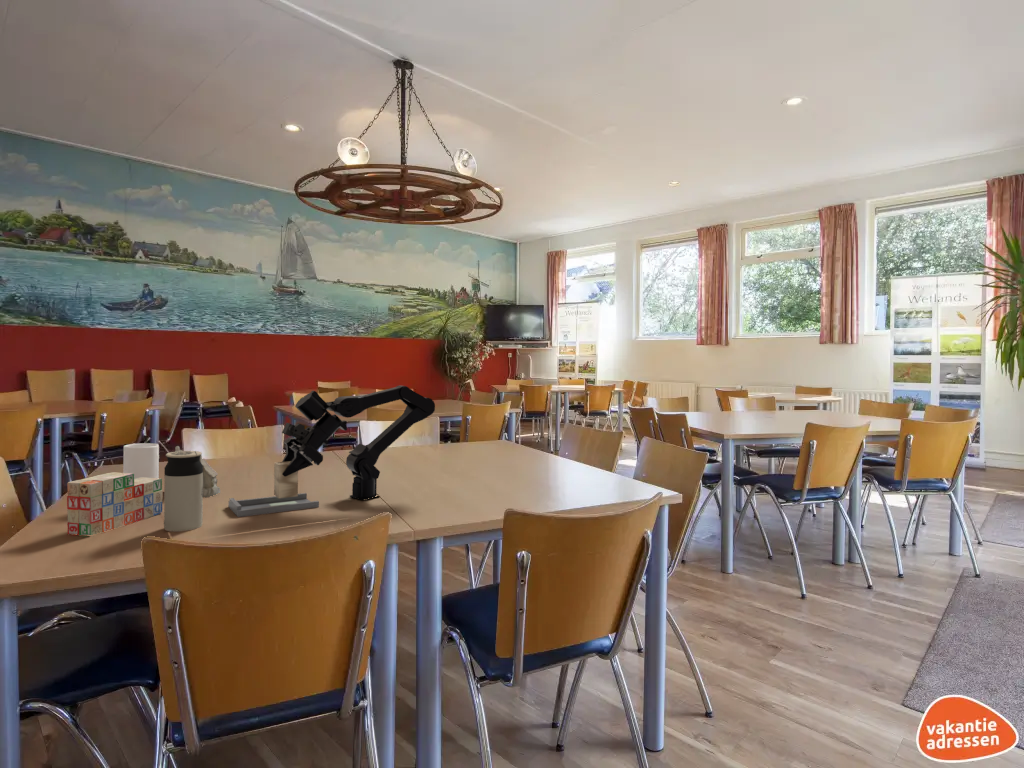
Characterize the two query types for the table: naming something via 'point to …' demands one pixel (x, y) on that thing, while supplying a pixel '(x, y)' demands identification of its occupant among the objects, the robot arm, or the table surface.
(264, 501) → the tray
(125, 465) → the cup
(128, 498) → the stack of blocks
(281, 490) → the maple block
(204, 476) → the ceramic cottage
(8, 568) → the table surface
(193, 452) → the travel mug
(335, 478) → the table surface
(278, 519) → the table surface
